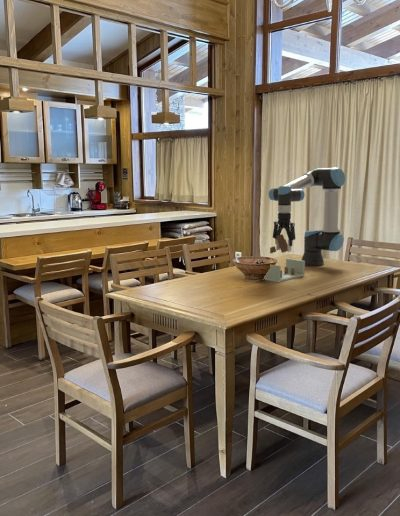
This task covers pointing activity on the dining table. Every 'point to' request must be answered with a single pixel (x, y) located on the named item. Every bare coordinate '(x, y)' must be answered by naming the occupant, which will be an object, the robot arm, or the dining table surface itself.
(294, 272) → the peg stand
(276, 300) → the dining table surface
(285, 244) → the wooden block set
